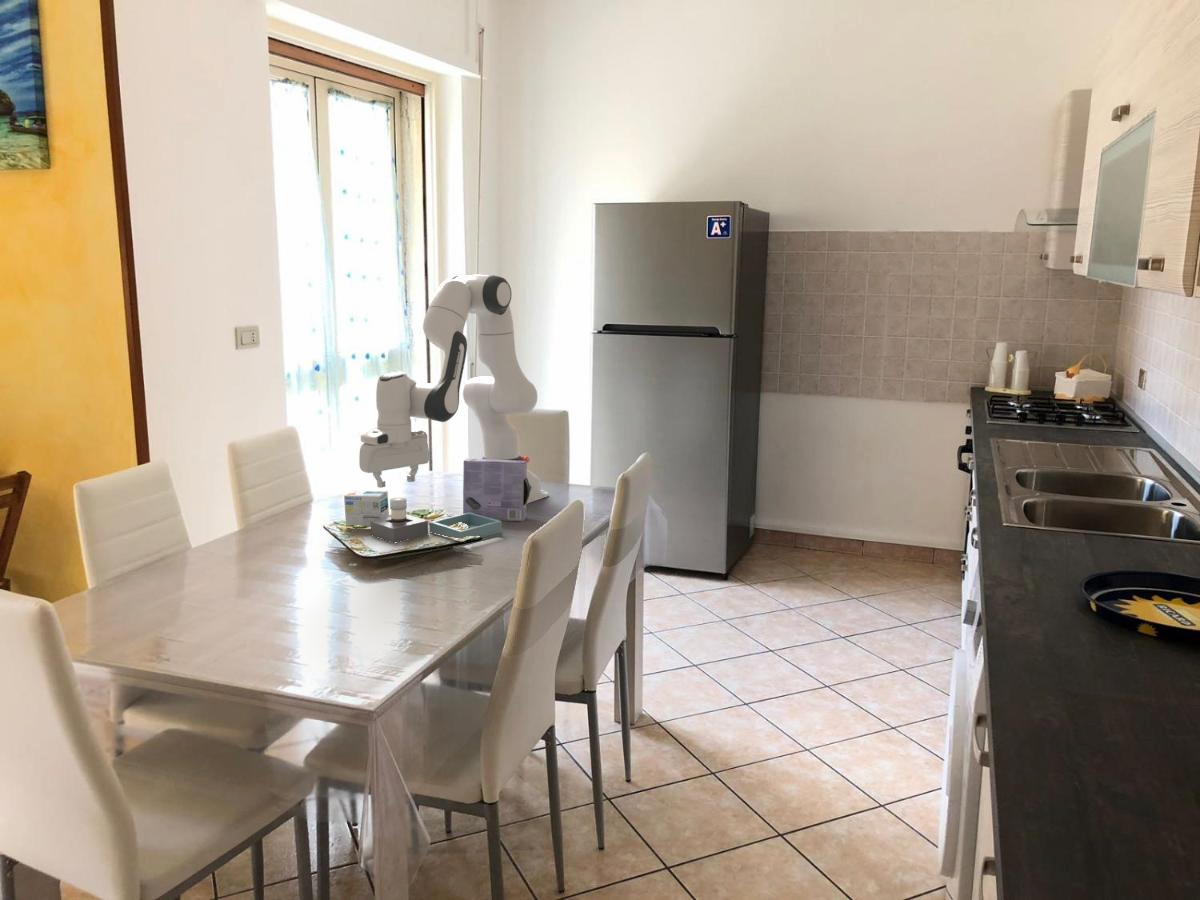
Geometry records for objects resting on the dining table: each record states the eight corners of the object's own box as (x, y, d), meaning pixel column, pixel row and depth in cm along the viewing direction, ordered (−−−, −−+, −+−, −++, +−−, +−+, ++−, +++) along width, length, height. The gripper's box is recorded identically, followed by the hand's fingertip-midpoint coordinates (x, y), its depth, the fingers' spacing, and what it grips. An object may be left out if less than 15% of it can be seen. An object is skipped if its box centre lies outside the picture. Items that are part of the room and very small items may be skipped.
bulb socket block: (405, 530, 263) (404, 513, 262) (428, 538, 255) (427, 520, 254) (371, 538, 255) (370, 521, 254) (394, 547, 248) (393, 528, 247)
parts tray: (469, 525, 267) (469, 512, 267) (502, 535, 258) (501, 521, 257) (429, 536, 257) (429, 522, 257) (461, 546, 248) (461, 531, 247)
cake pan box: (530, 517, 276) (529, 458, 273) (527, 522, 271) (526, 462, 268) (466, 516, 278) (464, 457, 274) (462, 520, 273) (460, 461, 270)
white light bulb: (401, 531, 258) (400, 496, 256) (411, 534, 255) (409, 499, 253) (388, 535, 255) (386, 499, 253) (397, 538, 252) (395, 502, 250)
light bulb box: (390, 526, 267) (388, 490, 265) (382, 533, 260) (380, 496, 258) (354, 526, 268) (351, 489, 266) (345, 532, 261) (343, 495, 259)
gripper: (419, 427, 259) (421, 476, 261) (355, 436, 244) (357, 488, 247) (433, 430, 255) (435, 480, 257) (368, 439, 240) (370, 492, 243)
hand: (396, 484), depth 252 cm, fingers open, 8 cm apart
